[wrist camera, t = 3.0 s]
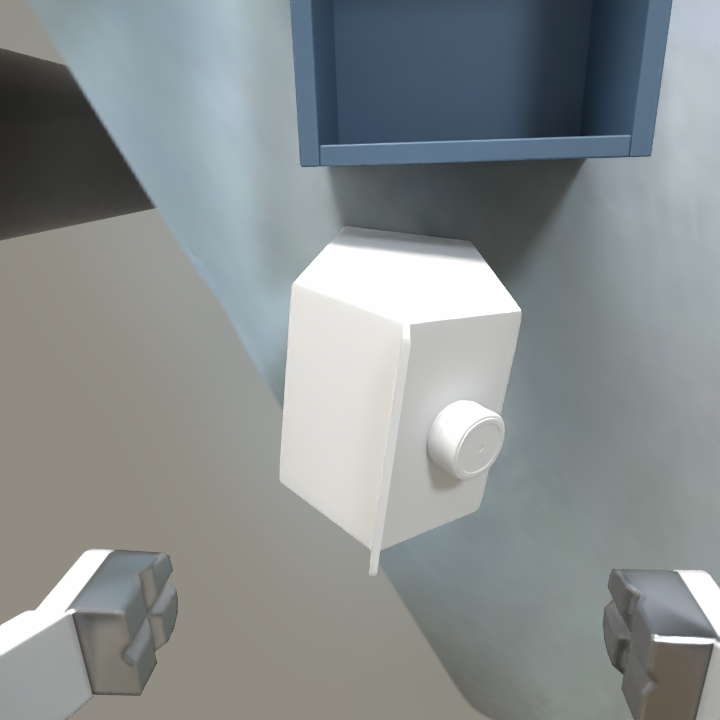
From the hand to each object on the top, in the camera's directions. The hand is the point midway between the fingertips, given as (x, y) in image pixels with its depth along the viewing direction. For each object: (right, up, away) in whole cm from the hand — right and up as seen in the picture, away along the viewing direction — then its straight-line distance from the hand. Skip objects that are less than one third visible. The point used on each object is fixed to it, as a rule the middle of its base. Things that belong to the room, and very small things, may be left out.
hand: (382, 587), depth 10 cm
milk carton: (+2, +8, +22) cm, 24 cm away
